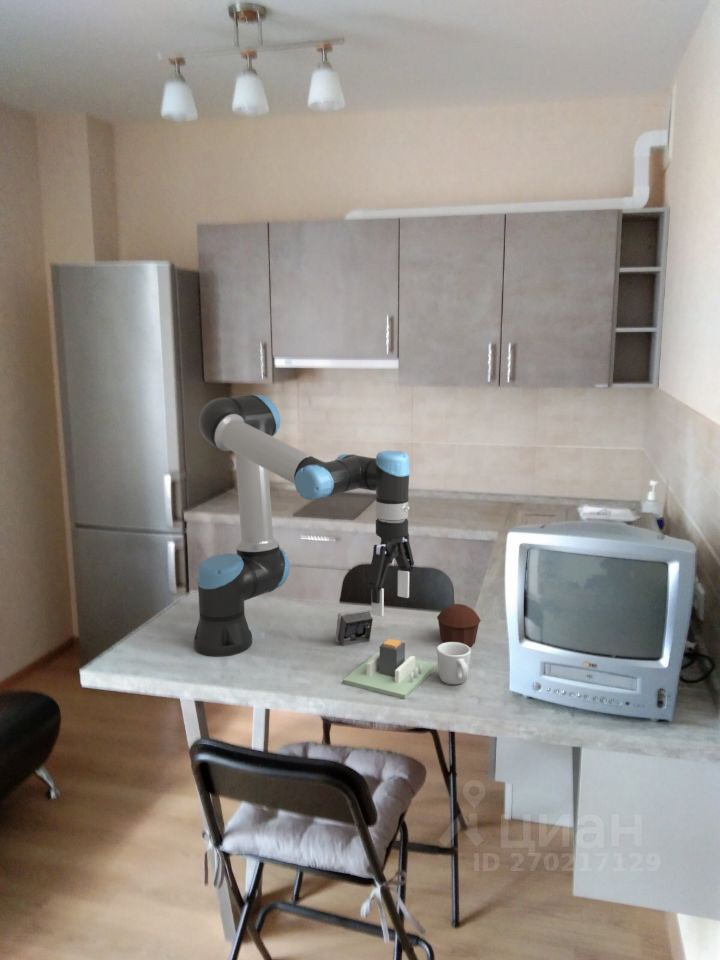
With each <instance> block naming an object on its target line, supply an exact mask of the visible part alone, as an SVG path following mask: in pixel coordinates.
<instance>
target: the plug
mask: <svg viewBox="0 0 720 960" xmlns="http://www.w3.org/2000/svg"><path fill="white" fill-rule="evenodd" d="M379 651H380V674H383V675H387V676H391V677H395V670H396V669H397V668H398V667H399V666H400V665H402V664H403V663H404V662H405V657H406V656H405V655H406V643H405V642H402V640H399V639H398V640H397V639H394V638H393V639H392V638H388V639H387V640H385V641H384V642H383V643H382V644H381V645H380V646H379Z"/></svg>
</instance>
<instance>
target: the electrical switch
mask: <svg viewBox="0 0 720 960" xmlns="http://www.w3.org/2000/svg"><path fill="white" fill-rule="evenodd" d="M371 611H372V609H371V608H369V607H366V608H361V609H352V610H348V611H342V612H339V613H338V614H337V621H336V622H337V623H336V630H335V637H334V639H335V642H336V643H340V644H341V645H342V647H347V646H352V645H357V644H363V643H369V642H370V640H371V633H372V628H373V627H372V626H373V620H374V618H373V617H372V615H371Z"/></svg>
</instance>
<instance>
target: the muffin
mask: <svg viewBox="0 0 720 960" xmlns="http://www.w3.org/2000/svg"><path fill="white" fill-rule="evenodd" d="M436 618H437V622H438V627H439V635H440V641H441V644H443V643H446V642H458V643H462V644H465V645H467V646H468V647H470V648H472V647H473V646H474V645H475V644H476V640H477V634H478V630H479V624H480V622H481V621H482V620H481V618H480V616H478V614H477V612H476V611H475V610H474V609H473V608H471V607H469V606H468V605H466V604H463V603H462V604H461V603H453V604H450V605H447V606H445V607H444V608H443V609H442V610H441V611H440V612H439V614H438V615H437V617H436Z"/></svg>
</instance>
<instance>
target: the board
mask: <svg viewBox="0 0 720 960" xmlns="http://www.w3.org/2000/svg"><path fill="white" fill-rule="evenodd" d="M437 667H438V663H433V662H429V661H424V660H420V659H416V656H414V655H410V656H409V657H406V656H405V662H404V663H403V664H402V665H400V666H399V667H398V668H397V669H396V670H395V677H391V676H387V675H383V674H380V650H377V652H375V653H374V654H373V655H372V656H371V657H369V658H368V659H367V660H366V661H364V662H363V663H362V664H361V665H359V666H357V668H356V669H355V670H353V671H352V672H351V673H350V674H348V675H347V676H346V677H344V679H343V684H345V685H347V686H352V687H356V688H360V689H364V690H367V691H370V692H376V693H379V694H383V695H387V696H390V697H395V698H397V699H398V698H399V699H403V700H406V699H407V697H409V696H410V695H411V694H412V693H413V692H414V691H415V690H416V689H417V688H419V686H420V685H421V684H422V683H423V682H424V681H425V680H426V679H427V678H428V677H429V676H430V675H431V674H432V673H433V672H434V671H435V670H436V669H437ZM411 692H412V693H411ZM408 695H409V696H408Z"/></svg>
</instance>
